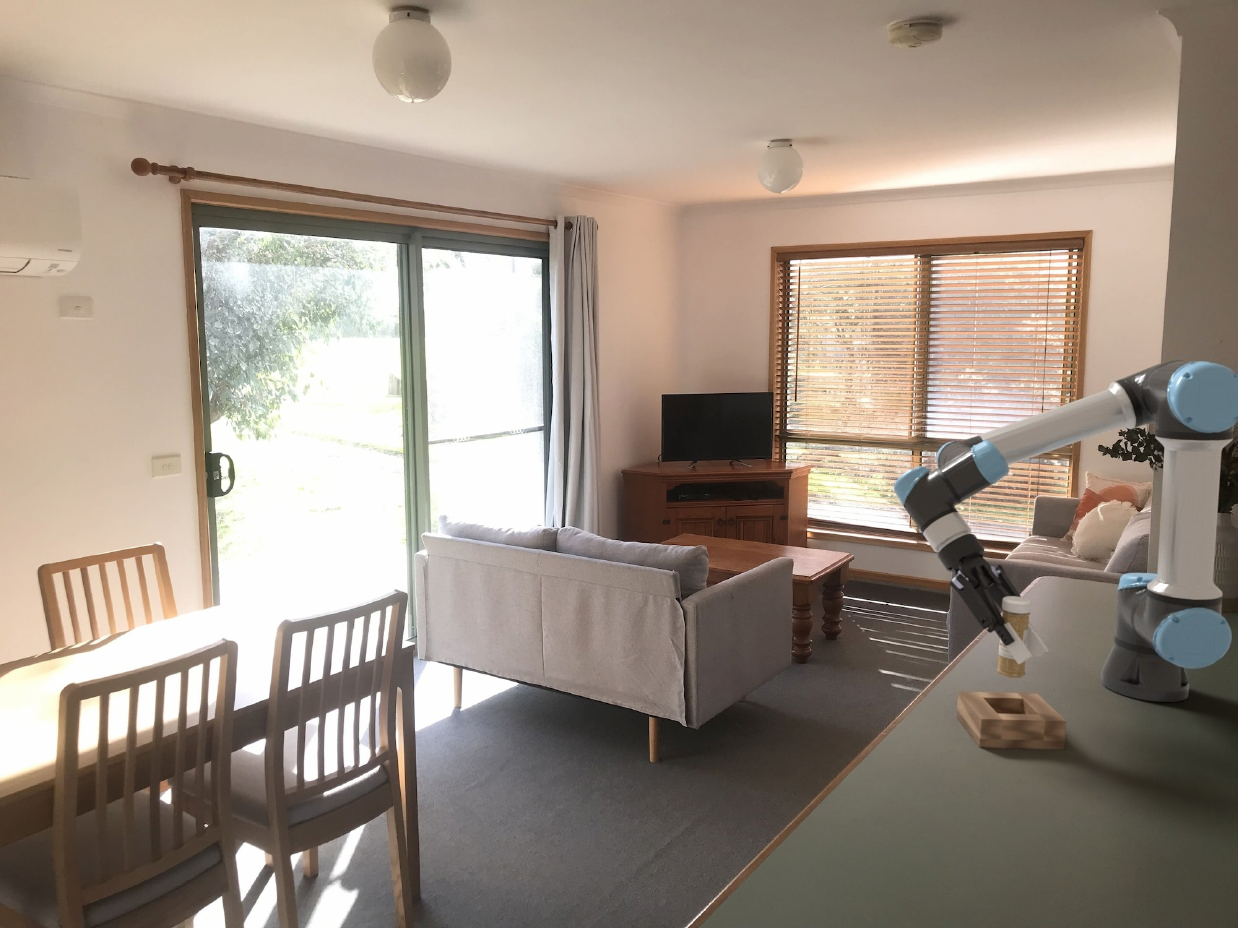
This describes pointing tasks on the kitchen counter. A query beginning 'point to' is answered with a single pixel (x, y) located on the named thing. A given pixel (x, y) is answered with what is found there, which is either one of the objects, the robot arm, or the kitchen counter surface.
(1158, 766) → the kitchen counter surface
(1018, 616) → the sprinkles bottle
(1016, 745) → the brown wooden square frame
